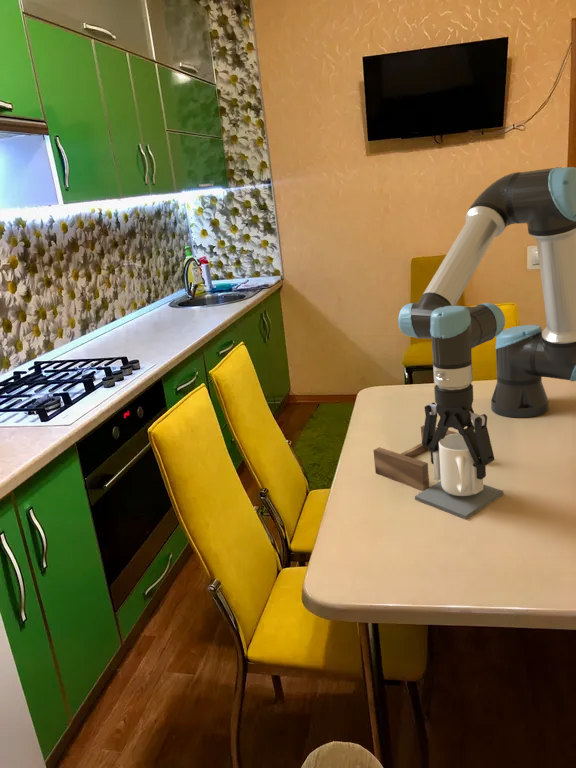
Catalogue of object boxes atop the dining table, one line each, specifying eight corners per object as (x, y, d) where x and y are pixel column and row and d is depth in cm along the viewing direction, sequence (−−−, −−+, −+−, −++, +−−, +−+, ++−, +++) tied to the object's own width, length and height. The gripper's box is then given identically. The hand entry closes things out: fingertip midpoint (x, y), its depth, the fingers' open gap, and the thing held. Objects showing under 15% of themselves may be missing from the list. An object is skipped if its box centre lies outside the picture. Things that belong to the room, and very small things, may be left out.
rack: (427, 446, 158) (425, 424, 156) (475, 460, 146) (474, 437, 145) (375, 473, 147) (373, 450, 145) (423, 491, 136) (421, 466, 134)
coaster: (452, 477, 140) (452, 474, 140) (503, 494, 130) (503, 490, 130) (415, 499, 133) (414, 496, 132) (465, 519, 123) (465, 515, 122)
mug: (440, 505, 126) (438, 458, 123) (441, 477, 137) (438, 433, 134) (484, 505, 124) (483, 457, 120) (481, 477, 135) (480, 432, 131)
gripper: (399, 380, 130) (407, 476, 137) (489, 399, 113) (492, 507, 120) (422, 371, 134) (429, 464, 141) (512, 387, 117) (514, 493, 124)
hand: (458, 484), depth 130 cm, fingers open, 9 cm apart
